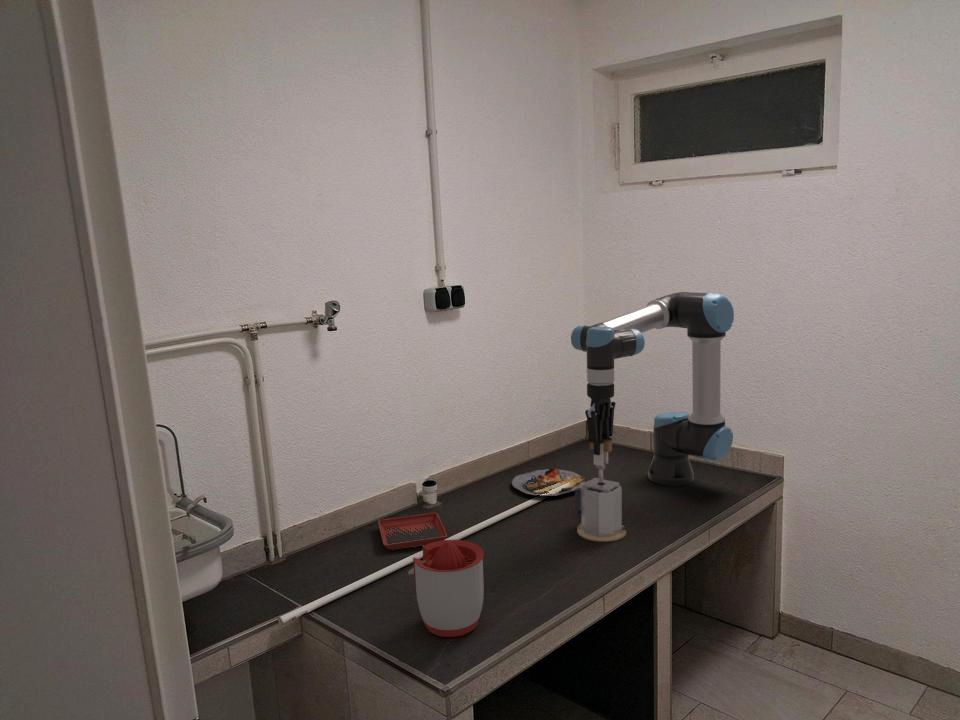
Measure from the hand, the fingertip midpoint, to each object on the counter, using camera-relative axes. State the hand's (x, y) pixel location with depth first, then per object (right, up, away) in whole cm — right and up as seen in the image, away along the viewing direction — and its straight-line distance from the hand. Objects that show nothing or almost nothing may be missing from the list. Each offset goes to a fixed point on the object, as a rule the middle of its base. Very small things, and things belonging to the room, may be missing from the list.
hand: (600, 463), depth 207 cm
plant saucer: (-54, -23, +5) cm, 59 cm away
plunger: (0, -12, +2) cm, 12 cm away
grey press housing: (+1, -20, +4) cm, 21 cm away
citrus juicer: (-41, -30, -42) cm, 66 cm away
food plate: (-11, -14, +42) cm, 45 cm away
